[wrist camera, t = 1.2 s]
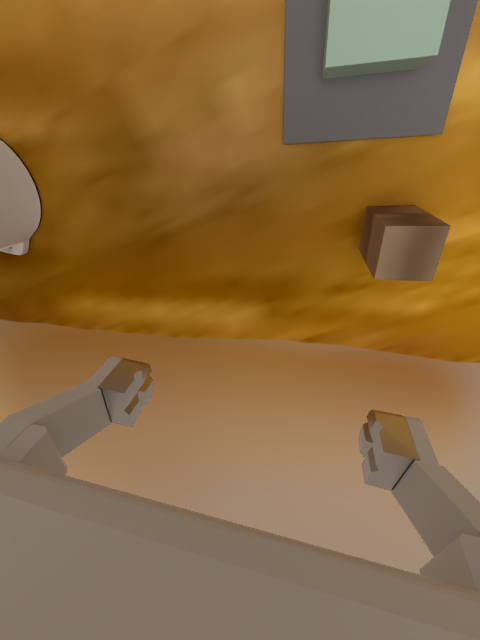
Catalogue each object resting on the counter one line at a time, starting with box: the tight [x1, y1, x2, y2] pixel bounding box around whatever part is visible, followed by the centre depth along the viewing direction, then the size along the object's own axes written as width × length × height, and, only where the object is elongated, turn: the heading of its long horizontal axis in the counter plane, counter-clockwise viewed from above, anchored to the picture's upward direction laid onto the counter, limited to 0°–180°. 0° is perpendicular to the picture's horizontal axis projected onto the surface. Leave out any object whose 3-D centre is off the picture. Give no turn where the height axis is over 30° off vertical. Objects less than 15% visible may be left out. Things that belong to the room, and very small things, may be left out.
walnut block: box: [359, 205, 450, 281], centre depth 29 cm, size 5×5×9 cm
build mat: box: [283, 0, 478, 144], centre depth 24 cm, size 15×17×1 cm
